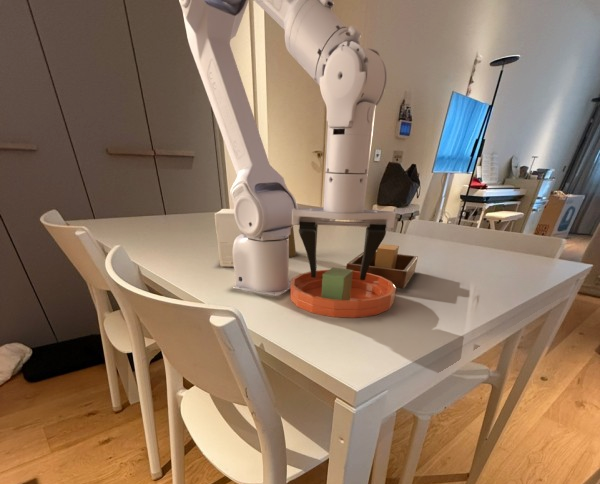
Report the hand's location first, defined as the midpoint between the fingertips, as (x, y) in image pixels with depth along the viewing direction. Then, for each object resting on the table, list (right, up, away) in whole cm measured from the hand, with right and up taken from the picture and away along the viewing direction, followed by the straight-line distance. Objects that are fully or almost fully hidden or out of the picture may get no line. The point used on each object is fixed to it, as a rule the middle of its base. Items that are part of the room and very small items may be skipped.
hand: (337, 277), depth 53 cm
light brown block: (+12, +8, +18) cm, 23 cm away
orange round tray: (+1, -2, +5) cm, 5 cm away
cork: (-10, +17, +32) cm, 38 cm away
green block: (0, -3, +2) cm, 4 cm away
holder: (+11, +6, +16) cm, 21 cm away
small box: (-21, +12, +24) cm, 34 cm away
